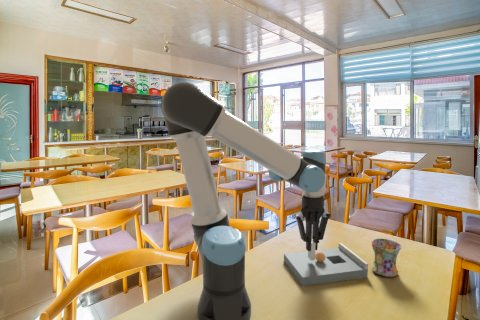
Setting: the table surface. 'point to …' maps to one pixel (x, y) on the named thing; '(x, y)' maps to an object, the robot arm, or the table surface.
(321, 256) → the ball
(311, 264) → the board
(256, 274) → the table surface
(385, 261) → the mug
